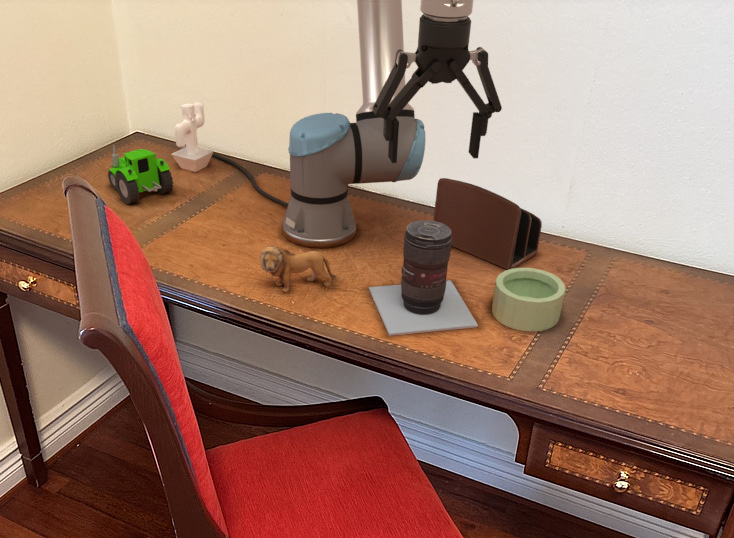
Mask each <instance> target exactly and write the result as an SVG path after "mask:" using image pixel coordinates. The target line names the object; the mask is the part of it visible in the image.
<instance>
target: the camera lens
mask: <svg viewBox="0 0 734 538" xmlns="http://www.w3.org/2000/svg"><path fill="white" fill-rule="evenodd" d="M403 236H404V237H403V238H404V239H403V249H402V250H403V251H402V252H403V254H402V256H403V260H402V261H403V262H402V266H401V271H400V272H401V283H400V284H401V291H402V299H403V301H404V303H403V304H404V307H405V309H406V310H408V311H409V312H411V313H414V314H420V315H426V314H432V313H435V312H436V311H438V310H439V308H440V306H441V302H442V301H443V299H444V294H445V289H446V281H447V278H448V277H447V276H448V267H449V261H450V258H451V250H452V246H451V243H452V237H451V229H450V228H449V227H448V226H447V225H445V224H442V223H440V222H436V221H433V220H431V219H430V220H429V219H426V220H425V219H423V220H421V219H420V220H415V221H412V222H410V223H409V224H408V225H407V226H406V230H405V231H404V235H403Z"/></svg>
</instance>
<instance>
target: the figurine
mask: <svg viewBox="0 0 734 538" xmlns="http://www.w3.org/2000/svg"><path fill="white" fill-rule="evenodd" d="M204 108H205V107H204V104H203V103H202V102H200V101H195V102H194V103H189V102H188V103H184V104H180V109H181V113H182V114H181V115H182V121H180V122H178V123H176V124H175V126H174V138H175V139H174V140H175V145H176V147H178V148H179V150H176V151H174V152H172V153H171V154H170V155H171V156H172V158H173V159H174V160H175V162H176V163H177V164H178V165H177V166H179V167H180V169H183V170H186V171H190V172H193V173H197V172H199V171H200V170H203V169H204V168H206V167H208V165H209V163H210V161H211V158H212V157H213V156H212V154H213V153H215V150H213V149H209V148H206V147H205V148H204V147H200V146H199V143H198V134H197V133H198V132H197V130H198V129H199V128H202V127H203V126H204V124H205V112H204V111H205V109H204Z"/></svg>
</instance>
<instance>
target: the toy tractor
mask: <svg viewBox="0 0 734 538" xmlns="http://www.w3.org/2000/svg"><path fill="white" fill-rule="evenodd" d="M112 152H113V153H112V154H111V159H112V160H111V164H110V168H108V172H107V177H108V181H109V183H110V186H111V187H112V188H113V189H114V190H116V192H117V194H118V195H119V198H120V199H121V201H122V202H123V203H124V204H125V205H131V204H135V203H137V202H138V201H139V200H140V193H143V192H146V191H147V192H149V193H151V192H155V193H158V194H159V195H163V194H167V193H170V192H172V191H173V188H174V181H173V179H174V178H173V176H172V172H171V168H170V167H169V164H168V163H167V161H166V160H165V159H163V158H161V157H158V158H157V156H156V153H155V152H153V151H151V150H149V149H144V148H140V149H135V150H132V151H127V152H124V153H123V156H122V157H120V156H119V153H117V151H116V146H115V143H113V144H112Z"/></svg>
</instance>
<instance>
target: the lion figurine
mask: <svg viewBox="0 0 734 538" xmlns="http://www.w3.org/2000/svg"><path fill="white" fill-rule="evenodd" d="M259 261H260V263H259V265H260V267H261V269H262V270H263V271H264V272H266V273H269V274H271V276H272V277H276V278H277V277H278V280H277V281H276V282H275V285H276V286H277V287H280V286H283V287H282V288H281V291H282V292H283V293H287V292H289V290H290V287H291V286H290V279H291V276H292V274H300V273H303V272H306V271H307V270H309V269H311V271H312V275H311V276H308V277H307V278H306V279H307V281H308V282H313V281H314V280H316V278H317V276H319V277H321V278H323V279H325V280H326V281H325V282H324V283H323V286H324V287H325V288H329V287H331V285H332V279H336V278H337V276H336V274H332V270H331V266H330V263H329V260H328V259H327V257H326V256H325V254H323V253H321V252H319V251H316V250H309V251H306V252H301V253H293V252H291V251H289V250H288V249H285V248H282V247H279V246H276V245H275V246H273V245H270V246H269V245H268V246H265V247H264V248H263V249H262V250H261V251H260V255H259ZM325 267H326V268H325ZM326 270H327V271H326ZM331 278H332V279H331Z"/></svg>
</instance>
